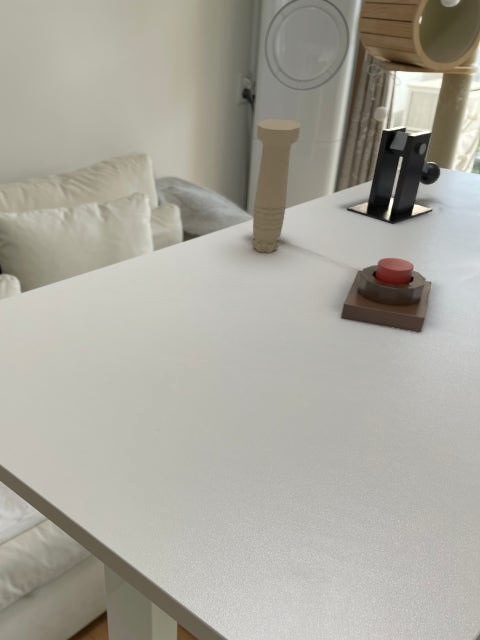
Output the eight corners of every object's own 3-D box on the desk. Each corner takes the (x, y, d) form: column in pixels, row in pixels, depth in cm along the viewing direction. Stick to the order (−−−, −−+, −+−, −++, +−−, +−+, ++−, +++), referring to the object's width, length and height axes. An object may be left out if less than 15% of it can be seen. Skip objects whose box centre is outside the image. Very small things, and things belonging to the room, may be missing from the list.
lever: (418, 185, 101) (428, 165, 100) (436, 190, 99) (447, 169, 98) (384, 149, 91) (395, 127, 90) (404, 154, 89) (416, 131, 88)
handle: (285, 242, 86) (301, 120, 78) (281, 260, 81) (298, 131, 73) (249, 239, 87) (260, 118, 78) (243, 256, 82) (255, 128, 73)
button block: (355, 284, 75) (361, 254, 73) (427, 296, 73) (435, 266, 71) (340, 318, 68) (346, 287, 66) (420, 333, 65) (429, 301, 63)
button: (377, 271, 70) (380, 255, 69) (411, 276, 69) (415, 260, 68) (372, 283, 68) (376, 267, 67) (408, 288, 67) (412, 272, 66)
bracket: (385, 204, 101) (402, 122, 95) (430, 217, 96) (452, 131, 90) (345, 216, 96) (361, 130, 89) (391, 230, 91) (411, 140, 84)
